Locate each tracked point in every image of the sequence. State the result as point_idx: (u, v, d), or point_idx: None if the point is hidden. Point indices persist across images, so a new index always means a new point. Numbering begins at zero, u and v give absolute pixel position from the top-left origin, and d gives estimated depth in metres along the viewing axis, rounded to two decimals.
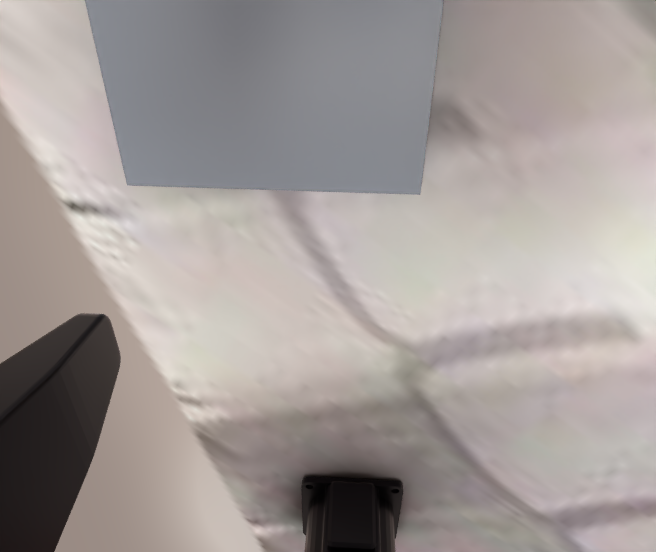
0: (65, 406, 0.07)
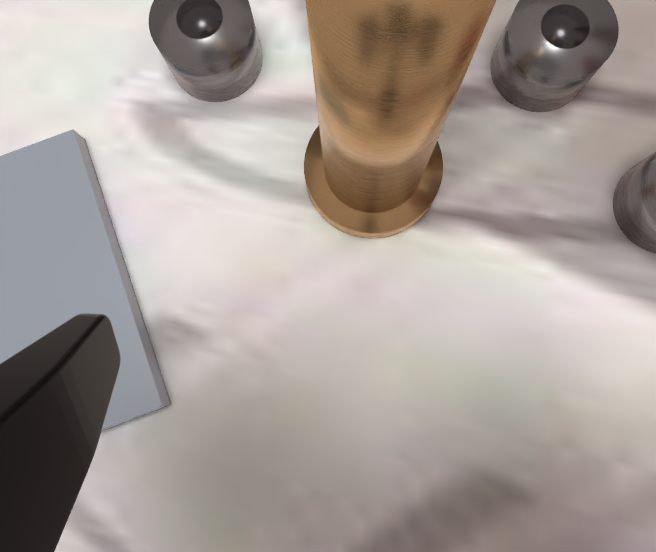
0: (65, 405, 0.07)
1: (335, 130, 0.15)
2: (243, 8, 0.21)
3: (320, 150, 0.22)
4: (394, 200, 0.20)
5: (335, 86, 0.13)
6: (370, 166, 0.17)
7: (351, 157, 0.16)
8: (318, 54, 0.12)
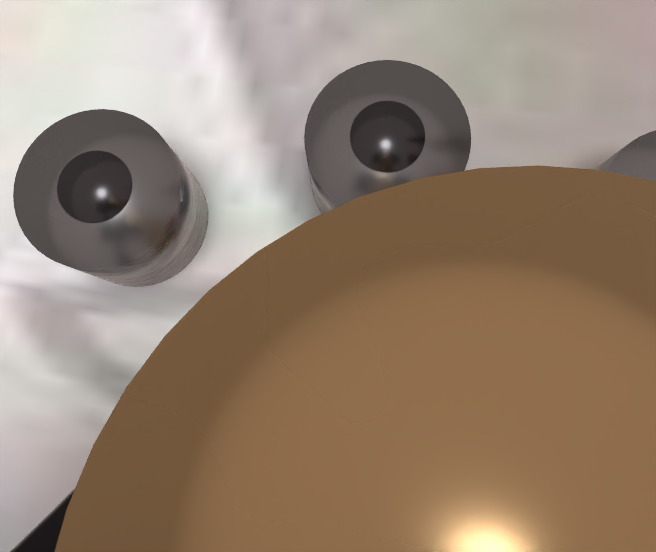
0: None
1: None
2: (166, 172, 0.13)
3: None
4: None
5: None
6: None
7: None
8: None
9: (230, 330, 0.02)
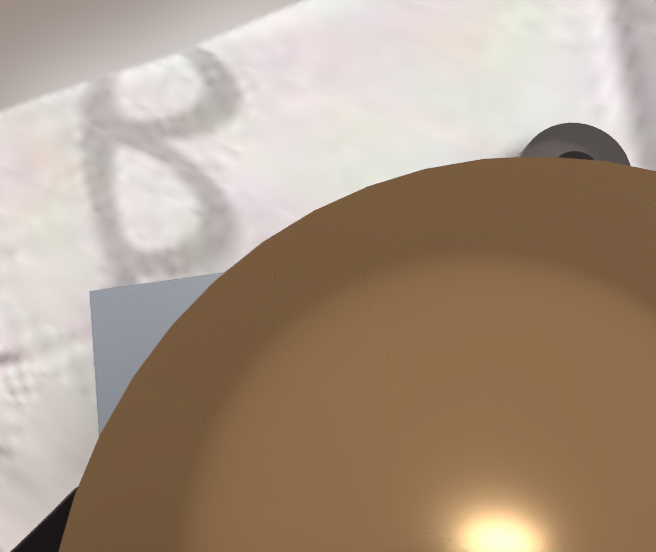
0: None
1: None
2: None
3: None
4: None
5: None
6: None
7: None
8: None
9: (236, 319, 0.02)
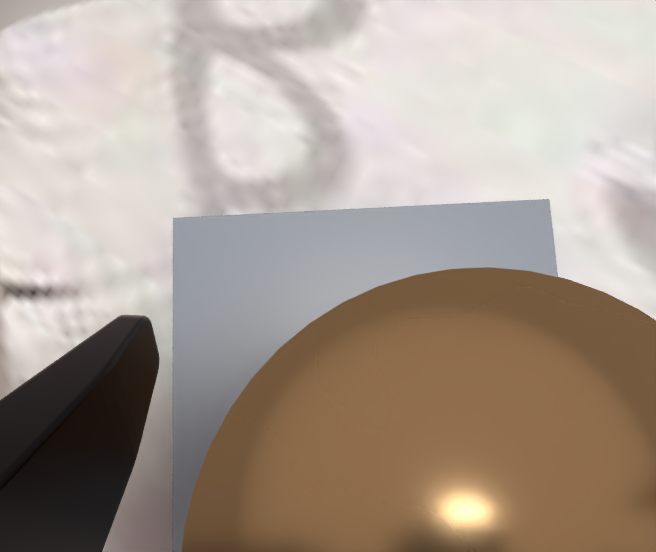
0: (112, 408, 0.07)
1: None
2: None
3: None
4: None
5: None
6: None
7: None
8: None
9: (294, 372, 0.04)
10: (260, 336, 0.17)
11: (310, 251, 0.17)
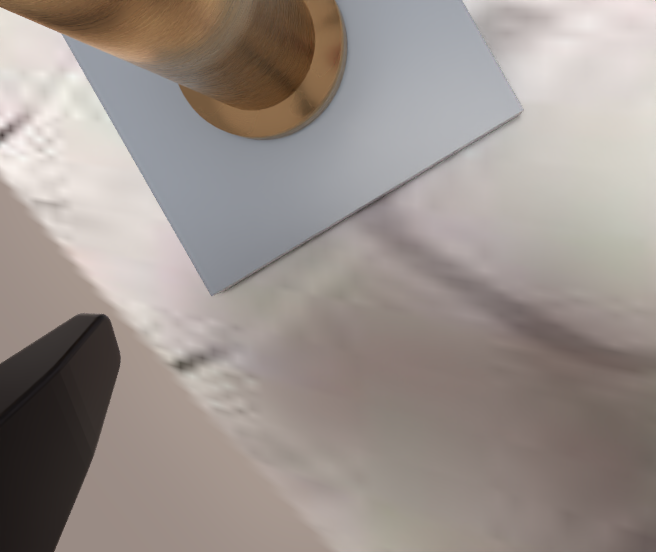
0: (65, 405, 0.07)
1: (108, 52, 0.11)
2: None
3: None
4: (287, 76, 0.15)
5: (11, 10, 0.08)
6: (194, 66, 0.12)
7: (165, 70, 0.12)
8: None
9: None
10: None
11: None
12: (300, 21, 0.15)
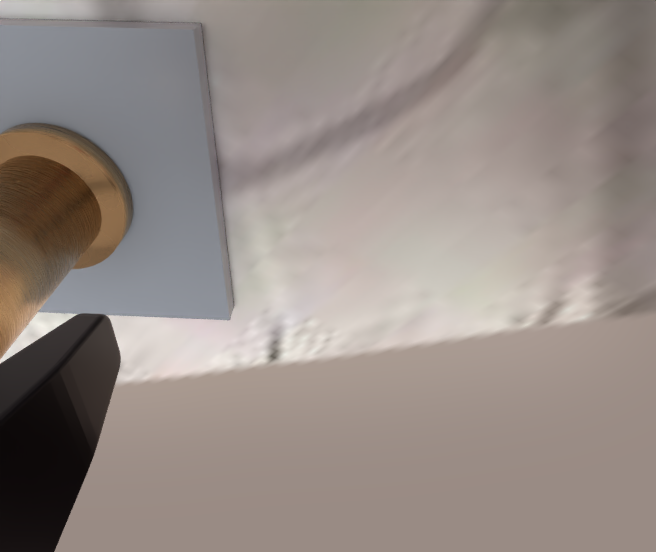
0: (65, 405, 0.07)
1: None
2: None
3: None
4: (78, 210, 0.18)
5: None
6: (31, 307, 0.16)
7: (26, 324, 0.16)
8: None
9: None
10: None
11: None
12: (38, 183, 0.18)
